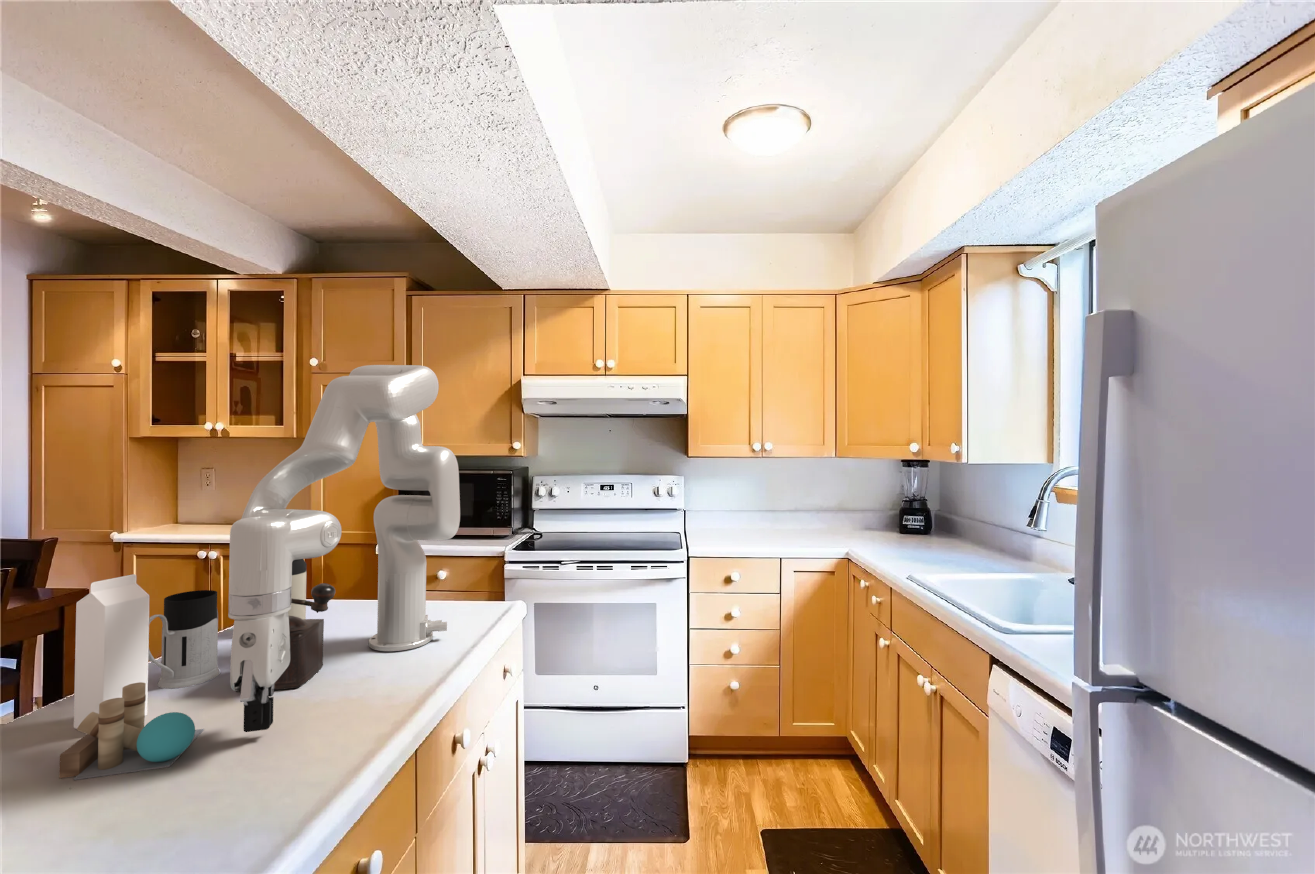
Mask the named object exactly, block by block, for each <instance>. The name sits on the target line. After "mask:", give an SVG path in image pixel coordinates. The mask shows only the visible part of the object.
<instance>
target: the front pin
mask: <svg viewBox="0 0 1315 874" xmlns="http://www.w3.org/2000/svg"><path fill="white" fill-rule="evenodd" d="M98 717H99V714H98V713H95V712H91V713H90V714H89V715H88V716H87V717H86V718H85V719H84V720H83V721H82V722H81V723H80V725H79V726H78V728H77V729H76V731H78V732H81V733H83V734H85V735H86V734H89V735H90V736H93V737H96V738H98V737H99V724H98ZM141 730H142V729H139V728H137V727H134V726H131V725H128V724H126V723H124V736H123V747H126V748H129V749H131V750H134V751H137V752H138V750H137V739H138V736H139V734H140V732H141Z"/></svg>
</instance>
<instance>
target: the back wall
mask: <svg viewBox="0 0 1315 874" xmlns="http://www.w3.org/2000/svg"><path fill="white" fill-rule="evenodd" d="M96 759H98V738H96V737H93V736H90V735H89V734H86V733H85V735H84V736H83V737H81V738H80V739H79V740H77V741H75V743H73V744H72V745H71V746H70V747H68V748H66V750H64V751H63V752H61V753H60V754H59V765H58V766H59V772H58V773H59V775H58V779H65V778H71V777H76V776H77V775H79V774H80V773H81V772H82V771H83V770H85V769H86V768H87V767H88V766H89V765H90V764H92V763H93V762H94V761H95V760H96Z"/></svg>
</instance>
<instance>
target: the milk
mask: <svg viewBox="0 0 1315 874" xmlns="http://www.w3.org/2000/svg"><path fill="white" fill-rule="evenodd" d="M75 611H76V612H75V649H74V650H75V652H74V653H75V654H74V659H75V660H74V692H73V694H74V695H73V696H74V698H73V699H74V700H73V706H74V707H73V729H75V730H77V728H78V726H79V725H80V723H81V722H82V721H83V720H84V719H85V718H86V717H87V716H88V715H89V714H90V713H91V712H95V713H98V714H99V704H100V703H101V702H103V701H106V700H109V699H113V698H122V688H123V687H124V686H126V685H129V684H133V683H139V682H143V683H146V686H145V694H146V701H145V717H146V716H147V715H148V699H149V698H148V695H149V694H148V691H149V690H148V687H149V660H148V648H149V649H150V647H149V645H150V643H149V642H150V641H149V639H150V634H149V633H150V624H149V618H150V594H149V593H147V592H146V590H145V589H143V588H142V587H141V585H139V584H138V583H137V574H136V573H135V574H134V573H133V574H130V575H129V574H128V575H123V576H118V577H113V578H107V579H101V580H98V581H93V582H91V583H90V591H89V593H88V594H86V595H85V596H84V597H83V598H81V599H80V600H78V601H76V608H75Z"/></svg>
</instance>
